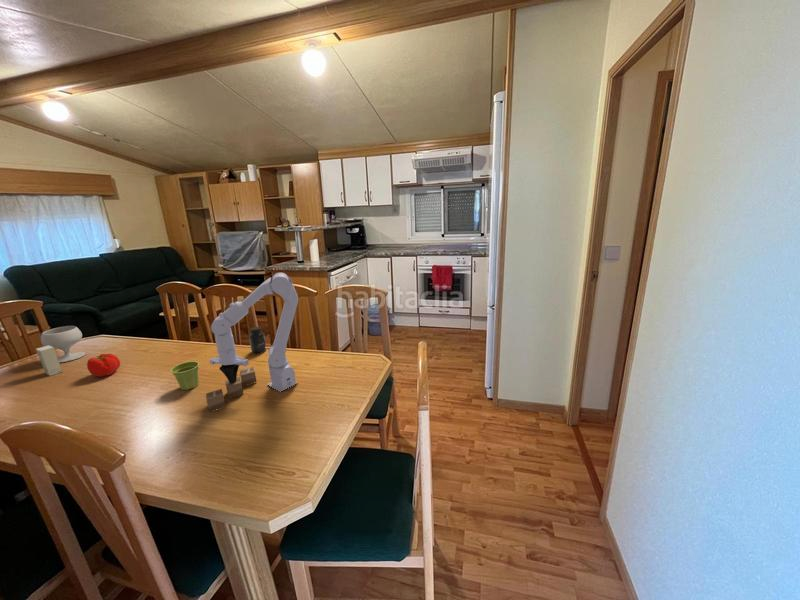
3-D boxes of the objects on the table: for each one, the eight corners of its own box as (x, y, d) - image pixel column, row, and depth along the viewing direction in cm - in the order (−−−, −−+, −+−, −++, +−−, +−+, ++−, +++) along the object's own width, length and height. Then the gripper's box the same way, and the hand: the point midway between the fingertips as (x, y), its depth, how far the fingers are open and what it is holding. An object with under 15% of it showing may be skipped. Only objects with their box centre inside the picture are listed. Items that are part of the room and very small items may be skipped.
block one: (225, 407, 113) (222, 394, 111) (209, 412, 110) (206, 399, 109) (224, 400, 117) (221, 388, 115) (208, 405, 114) (205, 393, 113)
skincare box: (63, 371, 144) (54, 347, 141) (49, 376, 141) (39, 351, 137) (58, 369, 147) (49, 344, 144) (44, 373, 144) (35, 348, 140)
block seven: (256, 382, 129) (254, 371, 127) (243, 386, 126) (240, 375, 125) (254, 377, 133) (252, 366, 131) (241, 381, 130) (239, 370, 129)
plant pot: (190, 393, 122) (185, 373, 120) (169, 391, 124) (164, 371, 122) (208, 381, 131) (204, 361, 129) (189, 379, 133) (184, 360, 131)
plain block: (243, 394, 120) (241, 382, 119) (228, 398, 118) (226, 386, 117) (241, 388, 125) (239, 377, 123) (227, 392, 122) (225, 381, 121)
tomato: (94, 382, 134) (87, 363, 131) (88, 375, 140) (82, 357, 138) (125, 372, 142) (120, 354, 139) (118, 365, 148) (113, 348, 146)
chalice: (61, 354, 163) (51, 327, 159) (94, 350, 167) (85, 323, 163) (41, 366, 150) (29, 337, 146) (77, 361, 154) (67, 332, 150)
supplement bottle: (263, 354, 155) (259, 330, 152) (249, 354, 155) (245, 331, 152) (268, 348, 161) (265, 325, 158) (255, 348, 162) (251, 326, 158)
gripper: (251, 344, 119) (256, 377, 122) (216, 343, 121) (223, 375, 125) (238, 352, 112) (245, 387, 116) (202, 351, 115) (210, 384, 118)
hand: (233, 381), depth 120 cm, fingers closed
